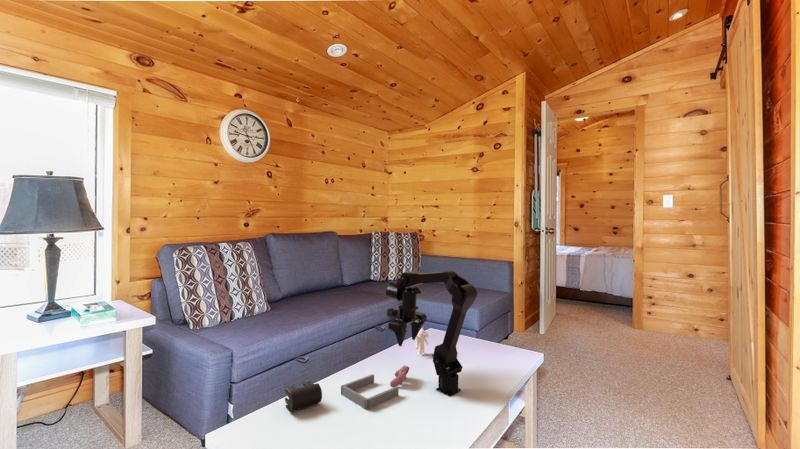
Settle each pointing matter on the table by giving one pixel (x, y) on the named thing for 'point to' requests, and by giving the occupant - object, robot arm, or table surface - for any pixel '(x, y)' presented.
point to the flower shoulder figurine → (421, 341)
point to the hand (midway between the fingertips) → (406, 342)
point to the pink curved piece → (400, 376)
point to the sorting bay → (365, 403)
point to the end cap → (303, 396)
